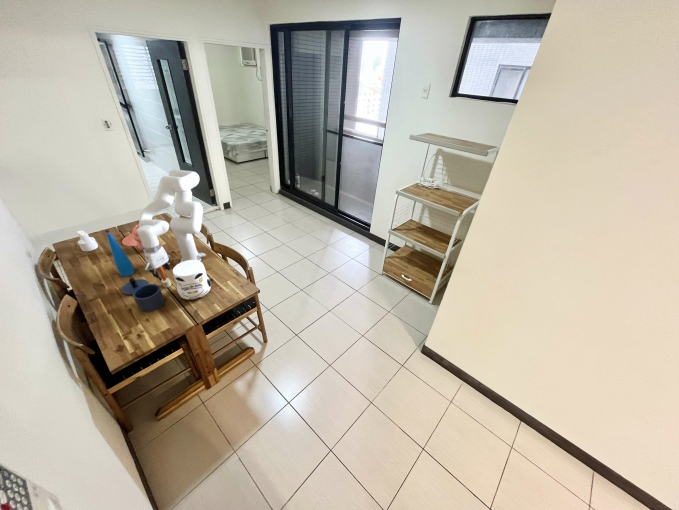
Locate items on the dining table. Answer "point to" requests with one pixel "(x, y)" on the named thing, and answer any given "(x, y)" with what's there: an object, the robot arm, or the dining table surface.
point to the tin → (149, 297)
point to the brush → (164, 278)
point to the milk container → (191, 279)
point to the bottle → (120, 257)
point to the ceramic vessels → (133, 239)
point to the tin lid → (133, 286)
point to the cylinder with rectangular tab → (86, 241)
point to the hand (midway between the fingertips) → (162, 273)
